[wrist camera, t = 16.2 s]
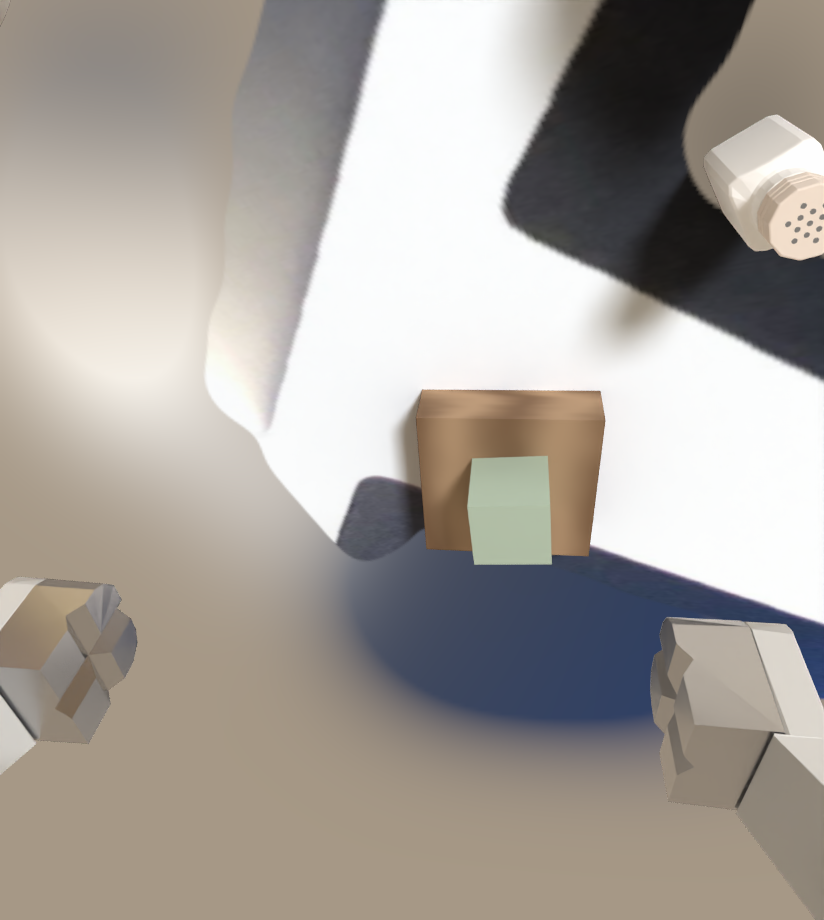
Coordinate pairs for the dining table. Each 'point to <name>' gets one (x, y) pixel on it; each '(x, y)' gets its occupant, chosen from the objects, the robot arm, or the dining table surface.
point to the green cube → (510, 510)
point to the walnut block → (509, 435)
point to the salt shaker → (772, 187)
